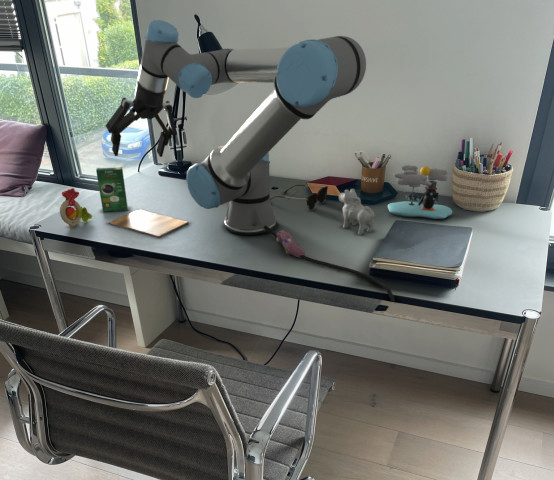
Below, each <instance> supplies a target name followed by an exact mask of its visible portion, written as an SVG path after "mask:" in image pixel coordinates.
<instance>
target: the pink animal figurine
mask: <svg viewBox="0 0 554 480" xmlns="http://www.w3.org/2000/svg"><path fill="white" fill-rule="evenodd" d="M275 233H276V235H277V238H276V237H275V240H276V242H277V243H280V244H281V245H282V247H283V248H284V250H285V254H288V255H289V256H291V255H292V256H293V257H295V258H299V259H301V258H300V256H301V255H304V256H306V252H305V250H304V249H303V248H301V247H300V246H298V245H297V243H296V240H295V238H294V237H292V235H291V233H290V232H289V231H286V230H284V229H282V230H279V231H277V232H275Z"/></svg>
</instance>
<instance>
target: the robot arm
mask: <svg viewBox="0 0 554 480" xmlns="http://www.w3.org/2000/svg"><path fill="white" fill-rule="evenodd" d="M178 42H179V31H178V29H177V28H176V27H175V26H174V24H172V23H170V22H168V21H164V20H161V19H156V20H151V21H150V22H149V23H148V25H147V30H146V34H145V36H144V43H143V50H142V56H141V61H140V65H139V69H138V70H139V71H138V76H137V81H136V86H135V91H134V98H133V100H129V99H127V97H122V98H121V101H120V105H119V106H118V108H117V109H116V110H115V111H114V113H113V115H112V116H111V117H110V119H109V120H107V122H106V124H105V128H106V130H107V132H108V134H110V135H111V136H110V142H111V144H112V148H111V151H112V153H113V155H114V157H118V156H119V150H120V145H121V140H122V135H121V133H122V132H123V131H125V130H126V129H127V128H128V127H129V126H131V125H132V123H135V121H138V120H139V119H141V120H146V119H147V120H153V119H155V120H156V122H158V125H159V126H160V128H161V130H162V131H160V134H159V139H158V144H157V147H156V153H157V155H158V156H159V157H160V158H163V155H164V151H165V147H167V146H168V145H169V141H170V140H172V139H173V136H174V137H176V136H178V131H177V127H176V123H175V120H174V115H173V109H174V108H173V105H172V104H171V102H170V100H166V101H165V97H166V90H167V89H168V83H169V79H170V81H172V82H173V83H174V84H175V85H176V86H177V88H179V89H180V90H181V91H182V92H184V93H185V94H187V95H188V96H190V97H191V98H192V99H199V98H202V97H203V95H206V94H207V93H208V91H209V90H210V88H211V86H214V85H218V84H234V83H236V84H237V83H255V84H256V83H259V84H260V83H262V84H264V83H265V84H269V83H271V84H272V83H273V90H272V91H271V92H270V93H269V94H268V95H267V97H265V99H264V100H263V101H262V102H261V103H260V105H259V106H258V107H257V108H256V109H255V110H254V111H253V113H252V114H251V115H249V118H247V119H246V121H245V122H244V123H243V124H242V125H241V126H240V128H239V129H238V130H237V131H236V132H235V134H234V135H233V136H232V137H231V138H230V139H229V141H228V142H227V143H226V144H225V145H218V146H216V147H215V148H213V149H212V150H211V152H210V153H209V154H208V156H206V157H205V159H204V160H202V161H200V162H197V163H194V164H193V165H191V166H190V167H189V168H188V170H187V171H186V184H187V189H188V192H189V195H190V196H191V198H192V199H193V201H194V202H195V203H196V204H197V205H198V206H199V207H201V208H204V209H206V210H212V209H215V208H219V206H223V205H224V204H226V203H228V206H227V209H226V213H225V216H224V228H225V229H226V230H227V231H228V232H230V233H233V234H236V235H241V236H257V235H263V234H266V233H269V234H271V235H272V236H273V237H274V238H275V239H276V238H277V235H276V233H277V232H275V231H274V230H275V228H276V226H277V218H276V215H275V213H274V210H273V206H272V203H271V200H270V199H271V198H270V163H271V161H270V154H269V152H270V151H271V150H272V149H274V147H275V146H276V145H277V144H278V143H279V142H280V141H281V140H282V139H283V138H284V137H285V136H286V135H287V134H288V133H289V132H290V131H291V130H292V129H293V127H295V125H297V124H298V123H299V122H300V120H310V119H312V118H313V117H314V116H315V115H316V114H317V113H318V112H319V111H321V109H322V108H323V107H325V106H326V104H327V103H328V102H330V101H331V100H333V99H336V98H340V97H343V96H346V95H349V94H351V93H352V92H353V91H355V90H356V89H357V88H358V87H359V86H360V85H361V83H362V82H363V79H364V78H365V74H366V71H367V58H366V55H365V51H364V49H363V47H362V46H361V44H360V43H358V41H357V40H355V39H354V38H352V37H349V36H346V35H345V36H344V35H336V36H330V37H325V38H319V39H305V40H302V41H299V42H298V43H295V44H293V45H291V46H289V47H264V48H263V47H262V48H261V47H260V48H237V49H233V48H222V49H218V50H212V51H206V52H205V51H204V52H199V53H192V54H191V53H189V52H188V51H187V50H185V48H183V47H182V46H181V45H180V44H179V43H178ZM164 101H165V102H164ZM163 110H164V112H165V115H166V119H167V123H168V127H169V128H168V127H167V126H166V124H165V122H164V121H163V119H162V118H161V116H160V114H159V113H161V112H162V111H163ZM299 259H302V260H305V261H308V262H310V263H312V264H317V265H321V266H324V267H328V268H331V269H335V270H338V271H343V272H347V273H350V274H353V275H356V276H359V277H361V278H365V279H366V280H369V281H370V282H372V283H375V284H376V285H378V286H379V287H381V288H382V289H384V290H385V291H386V293H387V294H388V297H389V300H390V301H391V302H396V299H395V296H394V294H393V292H392V290H391V288H390V287H389V286H388V285H387V284H385V283H383V282H381V281H380V280H378V279H377V278H376V277H373V276H372V275H369V274H367V273H365V272H361V271H359V270H356V269H353V268H349V267H346V266H342V265H338V264H334V263H330V262H327V261H323V260H319V259H317V258H316V259H315V258H312V257H310V256H307V255H305V256H304V255H301V256H300V258H299Z"/></svg>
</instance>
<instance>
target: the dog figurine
mask: <svg viewBox="0 0 554 480" xmlns="http://www.w3.org/2000/svg"><path fill="white" fill-rule="evenodd" d="M361 200H362V199H361V198H360V197H359V196H358V195H357V193H356V190H355V188H350V190H349V189H345V190H344V192H340V193H339V195H338V201H339V202H340V203H342V204H344V205H343V206H342V216H343V220H344V221H343V226H342V228H343V229H348V227H349V222H350V221H351V225H352V226H356V225H357V223H359V228H358V232H357V235H359V236H362V235H363V233H364V230H365V227H366V226H367V229H366V232H367V233H371V232H372V229H373V224H374V219H375V212H374V210H373V209H371V208H370V206H368V205H365V206H364V205H363V204H362V201H361Z"/></svg>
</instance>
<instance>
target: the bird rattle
mask: <svg viewBox="0 0 554 480" xmlns="http://www.w3.org/2000/svg"><path fill="white" fill-rule="evenodd" d="M61 196H62V197H63V198H65V199H64V201H63V202H62V203H61V204H60V207H59V215H60V216H59V217H60V218H61V220H62V221H63V222H64V223H65V224H66V225H68V226H69V227H70V228H73V227H74V226H75V225H76V224H78V223H79V222H80V221H82V222H83V223H88V221H89V219H92V218H93V215H92V214H91V213H90V212H88V209H87V207H86V206H84V207H83V206H81V205H80V203H79V202H78V201H77V200H76V199H77V198H78V197H79V196H80V191H77V190H76V189H75V188H74V187H72V188H68V189H67V190H64V191H61Z"/></svg>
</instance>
